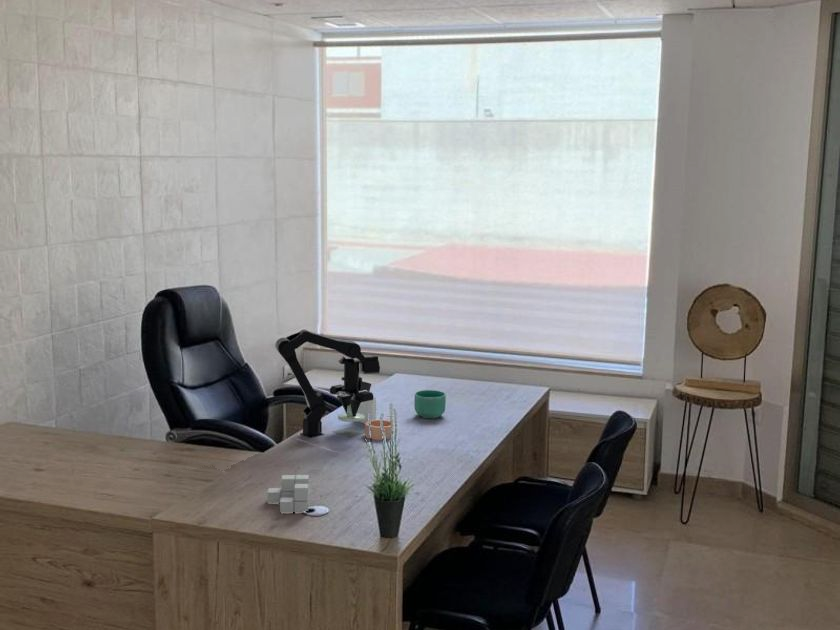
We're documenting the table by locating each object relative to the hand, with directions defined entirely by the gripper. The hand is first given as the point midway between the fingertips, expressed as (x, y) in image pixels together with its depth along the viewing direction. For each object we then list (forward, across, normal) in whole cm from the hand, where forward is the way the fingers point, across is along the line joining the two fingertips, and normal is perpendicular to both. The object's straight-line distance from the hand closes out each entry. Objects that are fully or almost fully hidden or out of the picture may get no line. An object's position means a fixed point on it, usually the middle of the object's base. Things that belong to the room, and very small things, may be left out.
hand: (351, 415), depth 357 cm
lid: (+1, 0, 0) cm, 1 cm away
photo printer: (+7, +7, -14) cm, 17 cm away
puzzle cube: (+7, -47, +66) cm, 82 cm away
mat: (+7, 0, 0) cm, 7 cm away
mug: (+7, -2, -42) cm, 42 cm away
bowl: (+7, -11, -5) cm, 14 cm away
